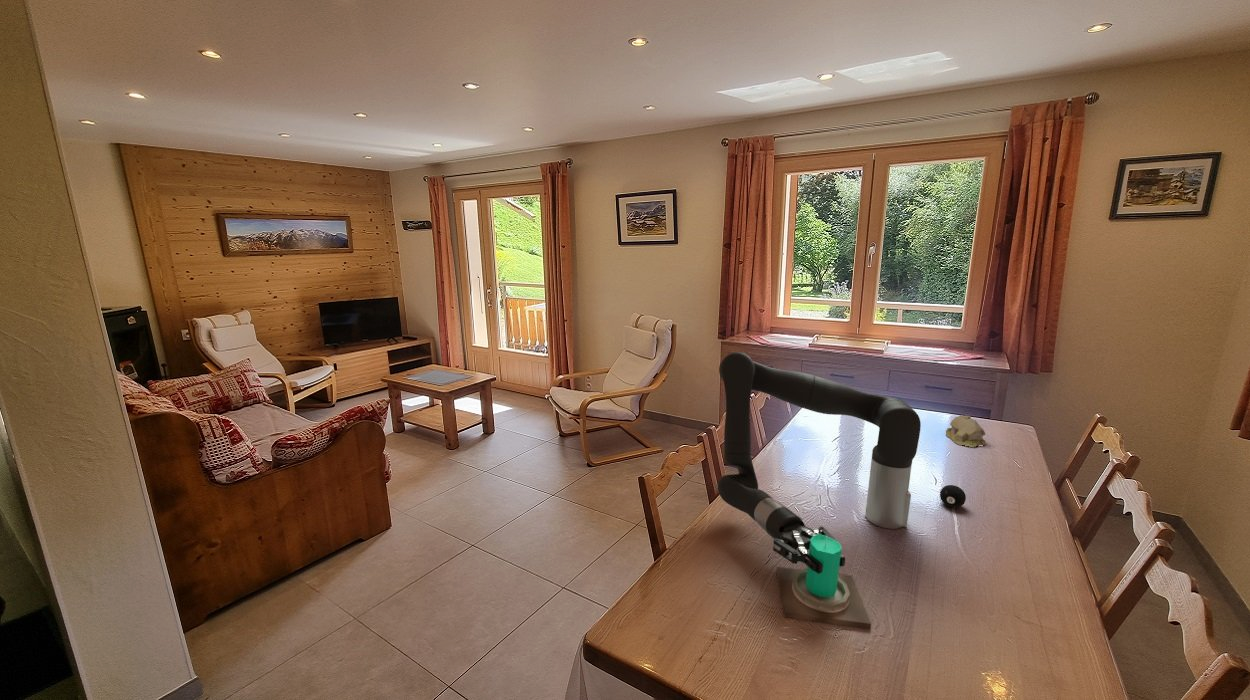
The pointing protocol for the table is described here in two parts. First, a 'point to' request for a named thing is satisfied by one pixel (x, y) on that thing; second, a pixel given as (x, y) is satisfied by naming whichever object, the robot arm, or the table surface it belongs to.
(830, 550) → the candle
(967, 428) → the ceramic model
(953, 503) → the billiard ball
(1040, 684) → the table surface
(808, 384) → the robot arm
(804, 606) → the holder
